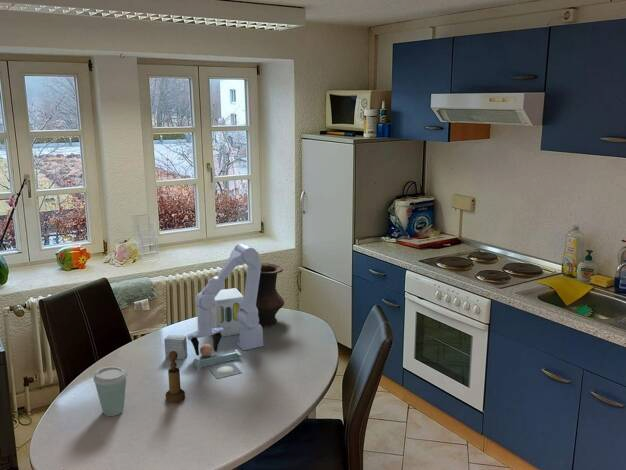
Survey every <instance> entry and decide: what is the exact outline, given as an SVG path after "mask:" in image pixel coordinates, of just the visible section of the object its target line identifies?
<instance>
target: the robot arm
mask: <svg viewBox="0 0 626 470" xmlns="http://www.w3.org/2000/svg"><path fill="white" fill-rule="evenodd" d="M259 254H260V252H259V251H258V250H256V249H255V248H254V247H251V246H248V245H247V244H246V243H243V242H242V243H241V242H240V243H237V244H236V245H235V247H234V248H233V249H232V250H231V252H230V255H229V257H228V259H227V260H226V262H225V263H224V264H223V266H222V268H221V269H220V270H219V272H218V274H217V275H216V276H212V277H211V278H209V279H208V281H207V284H206V285H205V286H204V288H203V289H202V290H200V292H198V293H197V294H196V296H195V298H194V299H193V300H194V303H195V304H196V305H197V307H196V308H197V309H196V310H197V312H196V313H197V314H196V315H197V330H196V331H194V332H191V333H187V335H186V339H187V341H190V342H191V344H192V346H193V348H194V352H195V355H196V356H200V346H199V345H200V341H199V340H198V339H199V338H203V337H209V336H212V341H213V344H212V345H213V346H212V349H213V351H214V352H217V351H218V347H219V344H220V341H222V340H221V339H222V338H223V336H222V335H221V334H223V328H212V307H211V306H213V304H214V299H215V297H216V295H217V294H218V293H219V291H220V290H223V289H222V288H224V286H225V283H224V282H225V280H227V278H228V277H229V275H231V273H232V272H233V271H234V270H235V269H236V267H238V266H244V265H246V266H247V273H246V280H245V285H244V286H245V287H244V294H243V296H244V300H243V303H242V304H241V305H240V309H239V311H238V312H237V319H238V320H239V321H240V324H239V329H240V334H239V341H237V342H236V345H237V346H238V347H239V348H240V349H241V350H243V351H247V350H251V349H256V348H260V347H264V346H265V344H264V333H263V332H264V331H263V326H261V325H260V324H258V323H259V317H258V309H257V307H256V300H257V293H258V286H259V279H260V272H261V263H262V261H261V259H260V256H259ZM213 295H214V296H213Z"/></svg>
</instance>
